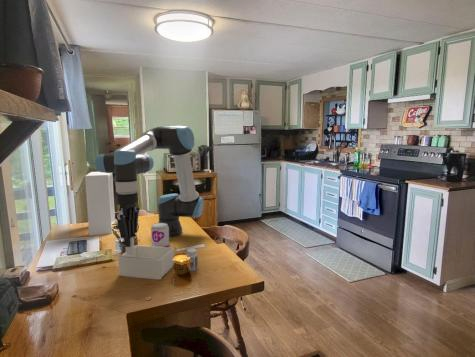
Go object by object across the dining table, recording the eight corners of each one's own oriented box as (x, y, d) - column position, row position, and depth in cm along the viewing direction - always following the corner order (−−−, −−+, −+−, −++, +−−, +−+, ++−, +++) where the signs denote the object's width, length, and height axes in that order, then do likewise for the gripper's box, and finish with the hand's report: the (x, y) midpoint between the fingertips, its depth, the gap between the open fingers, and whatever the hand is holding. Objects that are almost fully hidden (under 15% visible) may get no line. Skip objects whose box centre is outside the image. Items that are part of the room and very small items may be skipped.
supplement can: (165, 259, 140) (164, 227, 139) (149, 257, 142) (147, 226, 140) (172, 252, 148) (171, 223, 146) (156, 251, 150) (155, 222, 148)
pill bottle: (194, 265, 133) (194, 247, 132) (199, 269, 129) (199, 250, 128) (184, 268, 130) (184, 249, 129) (189, 272, 127) (189, 252, 125)
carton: (136, 261, 137) (135, 245, 136) (175, 265, 134) (174, 247, 133) (118, 275, 123) (117, 257, 122) (161, 279, 120) (160, 260, 119)
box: (95, 225, 196) (91, 171, 191) (115, 223, 200) (112, 171, 195) (89, 235, 176) (84, 175, 171) (111, 233, 179) (108, 175, 174)
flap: (110, 254, 115) (110, 255, 115) (149, 257, 112) (149, 258, 112) (119, 256, 122) (119, 257, 122) (157, 259, 119) (157, 260, 119)
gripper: (127, 189, 118) (130, 247, 121) (106, 195, 105) (110, 259, 108) (144, 189, 117) (147, 248, 120) (126, 196, 104) (130, 261, 107)
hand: (130, 253), depth 114 cm, fingers closed
